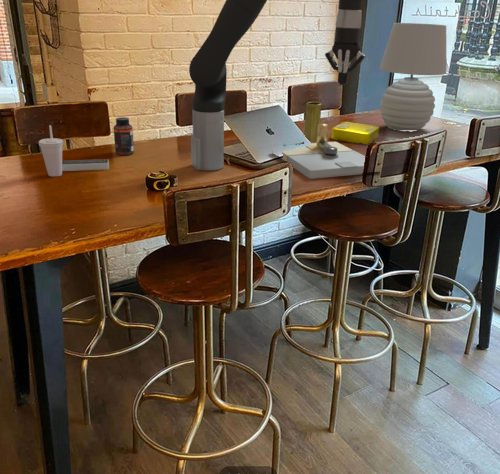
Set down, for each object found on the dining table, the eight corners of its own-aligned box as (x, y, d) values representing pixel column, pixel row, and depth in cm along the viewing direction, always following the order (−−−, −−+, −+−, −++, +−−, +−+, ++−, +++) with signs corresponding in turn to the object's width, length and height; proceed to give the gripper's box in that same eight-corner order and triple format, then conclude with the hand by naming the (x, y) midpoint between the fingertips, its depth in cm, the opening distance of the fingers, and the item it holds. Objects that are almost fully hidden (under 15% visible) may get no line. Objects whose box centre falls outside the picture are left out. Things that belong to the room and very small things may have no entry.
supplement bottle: (138, 153, 169) (135, 118, 165) (122, 156, 165) (119, 121, 161) (127, 149, 173) (124, 115, 168) (111, 153, 169) (109, 118, 164)
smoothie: (53, 179, 143) (46, 129, 138) (38, 175, 146) (31, 125, 141) (71, 173, 148) (66, 124, 143) (56, 169, 151) (50, 121, 146)
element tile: (367, 146, 189) (369, 132, 187) (328, 139, 196) (330, 127, 194) (379, 137, 201) (380, 125, 199) (342, 132, 208) (343, 120, 206)
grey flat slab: (310, 179, 151) (311, 169, 149) (272, 153, 175) (272, 144, 173) (381, 172, 159) (382, 163, 157) (335, 148, 183) (336, 140, 181)
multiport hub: (108, 170, 154) (108, 163, 153) (57, 172, 150) (56, 164, 149) (109, 166, 157) (108, 158, 156) (58, 168, 154) (57, 160, 153)
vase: (318, 145, 185) (322, 105, 179) (301, 144, 186) (304, 104, 180) (320, 141, 191) (323, 102, 185) (303, 140, 192) (306, 101, 186)
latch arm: (338, 155, 163) (341, 133, 160) (326, 155, 162) (328, 133, 159) (325, 144, 175) (327, 123, 172) (313, 144, 174) (315, 123, 171)
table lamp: (386, 119, 230) (400, 22, 213) (443, 129, 217) (463, 25, 200) (361, 129, 211) (374, 23, 194) (423, 140, 198) (442, 27, 181)
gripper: (372, 26, 159) (365, 85, 167) (330, 24, 164) (325, 81, 171) (367, 27, 153) (359, 88, 160) (323, 25, 158) (318, 84, 165)
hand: (342, 84), depth 166 cm, fingers closed
